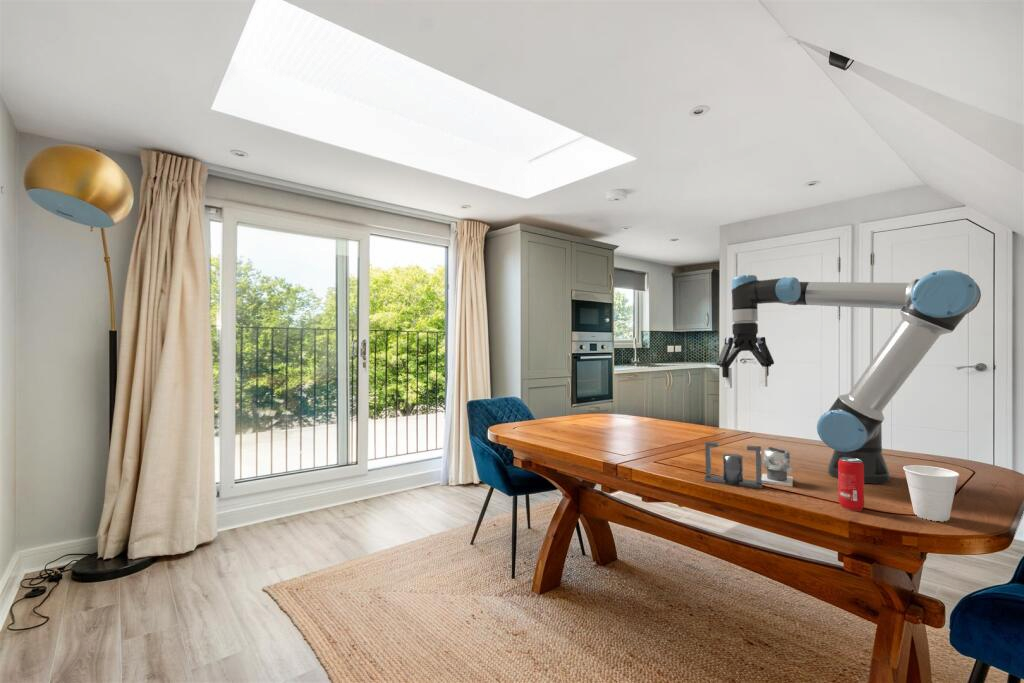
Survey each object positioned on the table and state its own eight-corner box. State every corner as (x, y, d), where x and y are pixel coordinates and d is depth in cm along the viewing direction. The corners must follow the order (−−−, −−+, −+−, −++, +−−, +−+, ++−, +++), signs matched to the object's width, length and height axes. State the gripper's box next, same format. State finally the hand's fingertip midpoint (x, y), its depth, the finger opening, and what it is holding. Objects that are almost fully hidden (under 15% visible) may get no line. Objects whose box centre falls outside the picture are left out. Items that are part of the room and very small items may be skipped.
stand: (792, 479, 141) (792, 466, 141) (792, 486, 134) (792, 472, 134) (762, 475, 145) (762, 463, 145) (760, 482, 138) (760, 469, 138)
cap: (801, 471, 135) (800, 452, 135) (781, 473, 133) (780, 453, 133) (772, 462, 145) (772, 444, 145) (754, 464, 144) (753, 445, 144)
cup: (914, 522, 107) (913, 474, 107) (896, 508, 116) (895, 463, 116) (970, 528, 103) (969, 478, 103) (946, 512, 112) (946, 466, 113)
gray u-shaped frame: (762, 484, 136) (762, 445, 136) (761, 489, 132) (760, 449, 132) (707, 477, 144) (706, 440, 144) (704, 481, 140) (703, 443, 140)
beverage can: (833, 504, 119) (832, 457, 119) (852, 503, 119) (852, 456, 119) (850, 511, 114) (849, 462, 114) (869, 510, 114) (869, 461, 114)
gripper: (768, 323, 161) (769, 384, 161) (704, 323, 155) (705, 387, 155) (785, 322, 154) (786, 386, 154) (719, 322, 148) (720, 389, 148)
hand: (745, 387), depth 154 cm, fingers open, 13 cm apart
